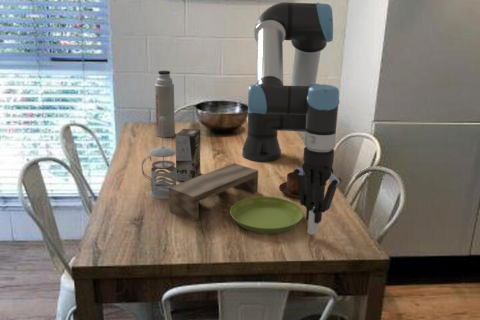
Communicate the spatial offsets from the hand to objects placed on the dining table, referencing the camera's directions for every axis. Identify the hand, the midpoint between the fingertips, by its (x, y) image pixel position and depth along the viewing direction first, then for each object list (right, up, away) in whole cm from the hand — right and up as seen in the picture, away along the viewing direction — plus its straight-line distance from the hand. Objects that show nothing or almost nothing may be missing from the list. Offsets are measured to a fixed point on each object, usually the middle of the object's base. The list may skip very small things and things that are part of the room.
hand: (312, 232), depth 134 cm
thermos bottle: (-52, +30, +88) cm, 107 cm away
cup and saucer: (-1, +8, +30) cm, 31 cm away
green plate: (-12, +1, +10) cm, 15 cm away
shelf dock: (-27, +6, +21) cm, 35 cm away
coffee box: (-37, +13, +41) cm, 57 cm away
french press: (-44, +8, +27) cm, 52 cm away
